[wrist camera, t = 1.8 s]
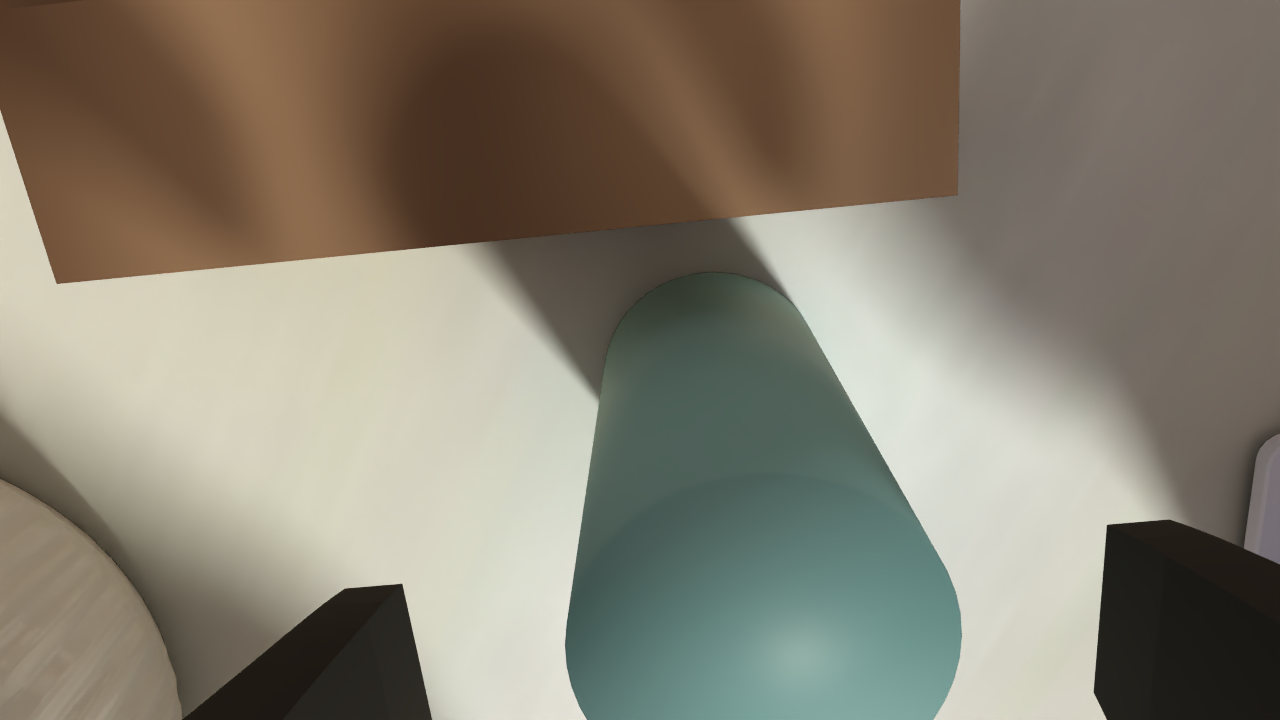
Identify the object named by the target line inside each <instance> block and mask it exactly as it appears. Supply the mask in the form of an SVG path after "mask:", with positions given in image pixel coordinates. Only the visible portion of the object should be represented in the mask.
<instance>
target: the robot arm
mask: <svg viewBox="0 0 1280 720" xmlns="http://www.w3.org/2000/svg"><path fill="white" fill-rule="evenodd" d="M1094 694H1095V696H1096V698H1097V700H1098V702H1099V704H1100V706H1101V708H1102V710H1103V712H1104V714H1105V716H1106V719H1107V720H1280V434H1277V435H1275V436H1273V437H1272V438H1270V439H1269V440H1267V441H1266V442H1265V443H1264V444H1263V446H1262V447H1261V448H1260V449H1259V452H1258V455H1257V458H1256V463H1255V470H1254V478H1253V485H1252V492H1251V500H1250V507H1249V514H1248V522H1247V529H1246V536H1245V544H1244V548H1241V547H1239V546H1237V545H1234V544H1232V543H1230V542H1227V541H1225V540H1223V539H1220V538H1218V537H1215V536H1213V535H1210V534H1208V533H1205V532H1203V531H1200V530H1197V529H1195V528H1192V527H1189V526H1186V525H1184V524H1181V523H1178V522H1175V521H1172V520H1159V521H1147V522H1135V523H1123V524H1111V525H1107V533H1106V545H1105V558H1104V570H1103V583H1102V595H1101V608H1100V620H1099V633H1098V645H1097V658H1096V670H1095V683H1094ZM183 720H432V718H431V713H430V709H429V704H428V699H427V695H426V690H425V686H424V681H423V677H422V672H421V667H420V663H419V658H418V654H417V649H416V645H415V640H414V635H413V631H412V626H411V622H410V617H409V613H408V608H407V603H406V599H405V594H404V590H403V585H402V584H395V585H383V586H371V587H360V588H348V589H344V590H342V591H341V592H340V593H338V594H337V595H335V596H334V597H332V598H331V599H330V600H328V601H327V602H326V603H324V604H323V605H322V606H321V607H319V608H318V609H317V610H315V611H314V612H313V613H312V614H310V615H309V616H308V617H307V618H306V619H304V620H303V621H302V622H301V623H299V624H298V625H297V626H296V627H295V628H293V629H292V630H291V631H290V632H288V633H287V634H286V635H285V636H284V637H282V638H281V639H280V640H279V641H278V642H276V643H275V644H274V645H273V646H272V647H270V648H269V649H268V650H267V651H266V652H264V653H263V654H262V655H261V656H260V657H258V658H257V659H256V660H255V661H254V662H252V663H251V664H250V665H249V666H247V667H246V668H245V669H244V670H243V671H241V672H240V673H239V674H238V675H237V676H235V677H234V678H233V679H232V680H230V681H229V682H228V683H227V684H226V685H224V686H223V687H222V688H221V689H219V690H218V691H217V692H216V693H215V694H213V695H212V696H211V697H210V698H209V699H207V700H206V701H205V702H204V703H202V704H201V705H200V706H199V707H198V708H196V709H195V710H194V711H193V712H191V713H190V714H189V715H188V716H186V717H185V718H184V719H183Z"/></svg>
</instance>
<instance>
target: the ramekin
mask: <svg viewBox="0 0 1280 720" xmlns="http://www.w3.org/2000/svg"><path fill="white" fill-rule="evenodd" d="M0 720H182V708H181V704H180V701H179V697H178V693H177V680H176V676H175V673H174V671H173V668H172V665H171V663H170V660H169V658H168V653H167V649H166V646H165V644H164V642H163V639H162V637H161V634H160V632H159V629H158V627H157V625H156V623H155V621H154V619H153V617H152V616H151V614H150V612H149V610H148V608H147V607H146V605H145V603H144V601H143V599H142V598H141V596H140V595H139V593H138V592H137V591H136V589H135V588H134V586H133V585H132V583H131V582H130V581H129V580H128V578H127V577H126V576H125V575H124V573H123V572H122V571H121V570H120V568H119V567H118V566H117V565H116V563H115V562H114V561H113V560H112V559H111V558H110V557H109V556H108V555H107V554H106V553H105V552H104V551H103V550H102V549H101V548H100V547H99V546H98V545H97V544H96V543H95V542H94V541H93V539H92V538H91V537H89V536H88V535H87V534H86V533H85V532H83V531H82V530H81V529H80V528H78V527H77V526H76V525H75V524H73V523H72V522H71V521H70V520H68V519H67V518H66V517H64V516H63V515H61V514H60V513H59V512H57V511H56V510H55V509H53V508H52V507H50V506H48V505H47V504H45V503H44V502H42V501H40V500H39V499H37V498H36V497H34V496H32V495H31V494H29V493H27V492H25V491H23V490H22V489H20V488H18V487H16V486H14V485H12V484H10V483H8V482H6V481H4V480H2V479H0Z"/></svg>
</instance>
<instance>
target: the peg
mask: <svg viewBox="0 0 1280 720" xmlns="http://www.w3.org/2000/svg"><path fill="white" fill-rule="evenodd" d="M961 639H962V631H961V614H960V609H959V605H958V600H957V596H956V592H955V589H954V587H953V584H952V582H951V579H950V576H949V574H948V571H947V570H946V568H945V566H944V564H943V563H942V561H941V559H940V557H939V555H938V554H937V552H936V550H935V548H934V547H933V545H932V543H931V541H930V540H929V538H928V536H927V534H926V533H925V531H924V529H923V527H922V526H921V524H920V522H919V520H918V518H917V517H916V515H915V513H914V511H913V510H912V508H911V506H910V504H909V503H908V501H907V499H906V497H905V496H904V494H903V492H902V490H901V489H900V487H899V485H898V483H897V481H896V480H895V478H894V476H893V474H892V473H891V471H890V469H889V467H888V466H887V464H886V462H885V460H884V459H883V457H882V455H881V453H880V451H879V450H878V448H877V446H876V444H875V443H874V441H873V439H872V437H871V436H870V434H869V432H868V430H867V429H866V427H865V425H864V423H863V422H862V420H861V418H860V416H859V414H858V413H857V411H856V409H855V407H854V406H853V404H852V402H851V400H850V399H849V397H848V395H847V393H846V392H845V390H844V388H843V386H842V385H841V383H840V381H839V379H838V377H837V376H836V374H835V372H834V370H833V369H832V367H831V365H830V363H829V362H828V360H827V358H826V356H825V355H824V353H823V351H822V349H821V348H820V346H819V344H818V342H817V340H816V339H815V337H814V335H813V333H812V332H811V330H810V328H809V326H808V325H807V323H806V321H805V320H804V318H803V316H802V315H801V314H800V313H799V311H798V310H797V309H796V308H795V306H794V305H793V304H791V303H790V302H789V301H788V300H787V299H786V298H785V297H784V296H783V295H781V294H780V293H778V292H777V291H776V290H774V289H773V288H771V287H769V286H767V285H765V284H763V283H762V282H759V281H757V280H754V279H751V278H749V277H746V276H741V275H737V274H732V273H722V272H706V273H698V274H691V275H687V276H683V277H680V278H677V279H674V280H672V281H669V282H667V283H665V284H662V285H660V286H659V287H657V288H656V289H654V290H652V291H651V292H649V293H648V294H646V295H645V296H644V297H643V298H641V299H640V300H639V301H638V302H637V303H636V304H635V305H634V306H633V307H632V308H631V309H630V310H629V311H628V312H627V314H626V315H625V316H624V318H623V319H622V320H621V322H620V323H619V325H618V327H617V329H616V331H615V332H614V334H613V337H612V339H611V342H610V344H609V347H608V351H607V355H606V360H605V366H604V373H603V380H602V387H601V394H600V400H599V407H598V414H597V421H596V428H595V435H594V441H593V448H592V455H591V462H590V469H589V476H588V482H587V489H586V496H585V503H584V510H583V516H582V523H581V530H580V537H579V544H578V551H577V557H576V564H575V571H574V578H573V585H572V592H571V598H570V605H569V612H568V619H567V628H566V640H565V649H566V663H567V669H568V673H569V678H570V682H571V686H572V689H573V692H574V694H575V697H576V699H577V702H578V704H579V706H580V708H581V710H582V712H583V713H584V715H585V717H586V719H587V720H933V719H934V718H935V716H936V714H937V713H938V711H939V709H940V708H941V706H942V704H943V703H944V701H945V699H946V697H947V695H948V692H949V690H950V688H951V685H952V683H953V680H954V678H955V674H956V670H957V666H958V662H959V658H960V649H961Z"/></svg>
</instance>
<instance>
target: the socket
mask: <svg viewBox="0 0 1280 720" xmlns="http://www.w3.org/2000/svg"><path fill="white" fill-rule="evenodd" d="M959 66H960V0H0V110H1V113H2V116H3V119H4V123H5V126H6V129H7V132H8V135H9V138H10V141H11V144H12V147H13V150H14V153H15V157H16V160H17V163H18V166H19V169H20V172H21V175H22V178H23V181H24V184H25V187H26V191H27V194H28V197H29V200H30V203H31V206H32V209H33V212H34V215H35V218H36V221H37V225H38V228H39V231H40V234H41V237H42V240H43V243H44V246H45V249H46V252H47V255H48V259H49V262H50V265H51V268H52V271H53V274H54V277H55V280H56V283H57V284H61V283H71V282H81V281H91V280H101V279H111V278H122V277H132V276H142V275H152V274H162V273H172V272H183V271H193V270H203V269H213V268H223V267H233V266H243V265H254V264H264V263H274V262H284V261H294V260H304V259H315V258H325V257H335V256H345V255H355V254H365V253H376V252H386V251H396V250H406V249H416V248H426V247H436V246H447V245H457V244H467V243H477V242H487V241H497V240H508V239H518V238H528V237H538V236H548V235H558V234H569V233H579V232H589V231H599V230H609V229H619V228H629V227H640V226H650V225H660V224H670V223H680V222H690V221H701V220H711V219H721V218H731V217H741V216H751V215H762V214H772V213H782V212H792V211H802V210H812V209H822V208H833V207H843V206H853V205H863V204H873V203H883V202H894V201H904V200H914V199H924V198H934V197H944V196H955V195H958V133H959Z"/></svg>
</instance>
